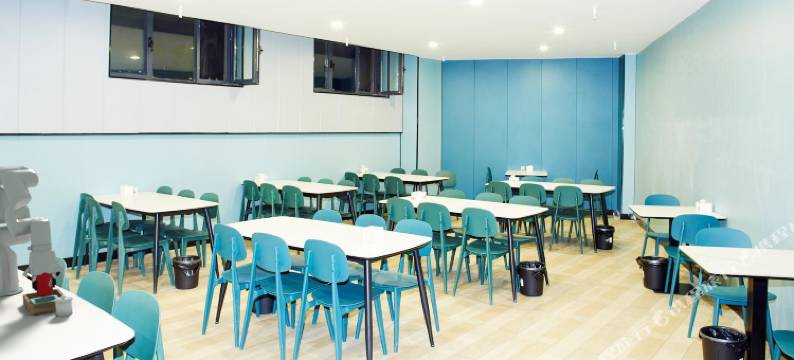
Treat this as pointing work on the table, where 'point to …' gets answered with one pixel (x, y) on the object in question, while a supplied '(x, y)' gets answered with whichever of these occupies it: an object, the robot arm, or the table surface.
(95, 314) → the table surface
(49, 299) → the socket
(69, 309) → the sugar pot
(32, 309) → the caddy
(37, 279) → the beverage can
